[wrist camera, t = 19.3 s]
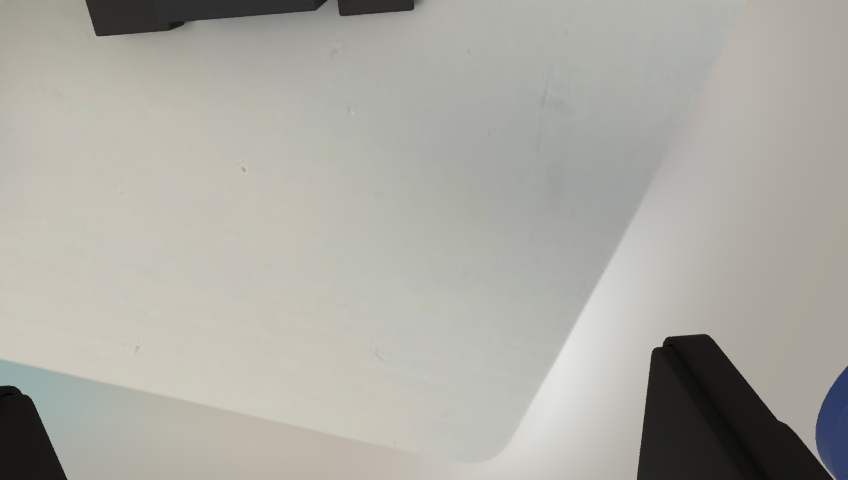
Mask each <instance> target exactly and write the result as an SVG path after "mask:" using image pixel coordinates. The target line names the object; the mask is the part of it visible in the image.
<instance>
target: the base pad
mask: <svg viewBox="0 0 848 480" xmlns="http://www.w3.org/2000/svg"><path fill="white" fill-rule="evenodd" d="M86 4H87V7H88V10H89V14H90V17H91V20H92V24H93V27H94V30H95V34H96V36H109V35H121V34H133V33H145V32H157V31H169V30H172V29H175V28H177V27H180V26H182V25H184V22H171V23H159V21H158V17H157V13H156V9H155V6H154V2H153V0H86ZM338 7H339V14H340V16H350V15H362V14H374V13H386V12H398V11H410V10H414V0H338Z"/></svg>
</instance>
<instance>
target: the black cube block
mask: <svg viewBox="0 0 848 480" xmlns="http://www.w3.org/2000/svg"><path fill="white" fill-rule="evenodd" d="M326 1H327V0H153V2H154V6H155V9H156V13H157V17H158V21H159V23H171V22H183V21H196V20H208V19H220V18H232V17H244V16H256V15H268V14H280V13H292V12H304V11H315V10H317V9H318V8H319V7H320V6H322V5H323V4H324V3H325V2H326Z"/></svg>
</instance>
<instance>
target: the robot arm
mask: <svg viewBox="0 0 848 480" xmlns="http://www.w3.org/2000/svg"><path fill="white" fill-rule="evenodd" d="M0 480H67V478H66V476H65V473H64V471H63V469H62V467H61V464H60V462H59V460H58V457H57V455H56V453H55V451H54V448H53V446H52V444H51V441H50V439H49V437H48V435H47V432H46V430H45V428H44V426H43V423H42V421H41V419H40V417H39V414H38V412H37V410H36V407H35V405H34V403H33V401H32V399H31V398H30V397H29V396H27V395H23V394H22V393H21V391H20V390H19V389H18V388H16V387H14V386H0ZM637 480H833V478H832V477H831V476H830V475H829V473H828V472H827V471H826V470H825V468H824V467H823V466H822V465H821V464H820V462H819V461H818V460H817V459H816V457H815V456H814V455H813V454H812V453H811V451H810V450H809V449H808V448H807V446H806V445H805V444H804V443H803V442H802V440H801V439H800V438H799V437H798V435H797V434H796V433H795V432H794V431H793V430H792V429H791V428H790V427H789V426H788V425H787V424H785V423H783V422H781V421H778V420H777V419H776V417H775V416H774V415H773V414H772V413H771V411H770V410H769V409H768V407H767V406H766V405H765V404H764V403H763V401H762V400H761V399H760V398H759V396H758V395H757V394H756V392H755V391H754V390H753V389H752V387H751V386H750V385H749V384H748V382H747V381H746V380H745V379H744V377H743V376H742V375H741V374H740V373H739V371H738V370H737V369H736V368H735V366H734V365H733V364H732V363H731V361H730V360H729V359H728V357H727V356H726V355H725V354H724V353H723V351H722V350H721V349H720V348H719V346H718V345H717V344H716V343H715V341H714V340H713V339H712V338H711V337H710V336H709V335H706V334H700V335H686V336H673V337H667V338H666V339H665V341H664V342H663V346H662V347H657V348H654V349H653V351H652V356H651V363H650V371H649V380H648V388H647V397H646V405H645V415H644V422H643V432H642V440H641V448H640V456H639V466H638V474H637Z"/></svg>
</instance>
